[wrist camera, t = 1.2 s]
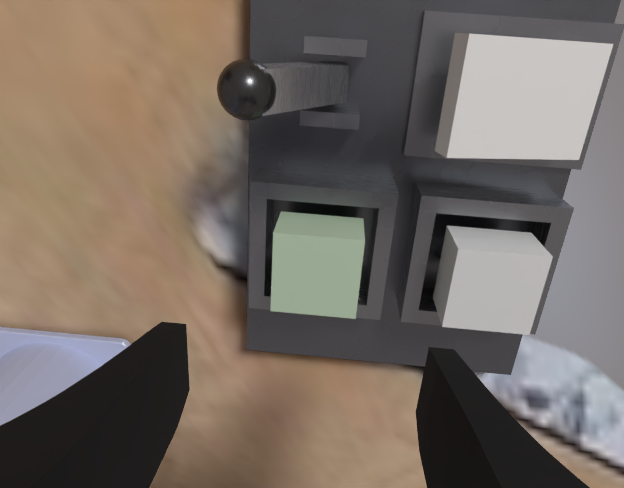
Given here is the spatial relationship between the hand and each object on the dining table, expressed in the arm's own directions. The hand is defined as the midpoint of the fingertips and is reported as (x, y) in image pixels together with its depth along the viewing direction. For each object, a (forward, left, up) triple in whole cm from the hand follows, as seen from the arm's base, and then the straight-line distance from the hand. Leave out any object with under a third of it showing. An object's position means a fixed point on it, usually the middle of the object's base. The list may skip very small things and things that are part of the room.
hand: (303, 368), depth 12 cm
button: (0, 0, -7) cm, 7 cm away
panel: (+3, -3, -10) cm, 11 cm away
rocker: (+6, -6, -7) cm, 11 cm away
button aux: (0, -6, -7) cm, 9 cm away
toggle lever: (+6, 0, -8) cm, 10 cm away
